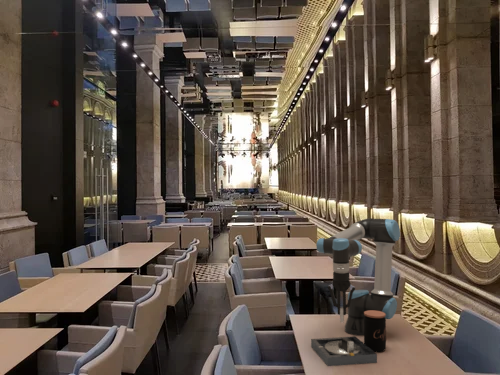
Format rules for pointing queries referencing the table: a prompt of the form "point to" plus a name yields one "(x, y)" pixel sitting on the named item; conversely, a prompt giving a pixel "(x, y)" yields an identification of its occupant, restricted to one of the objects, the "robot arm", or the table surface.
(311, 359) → the table surface
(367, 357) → the grey square tray
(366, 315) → the coffee jar
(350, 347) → the dial
